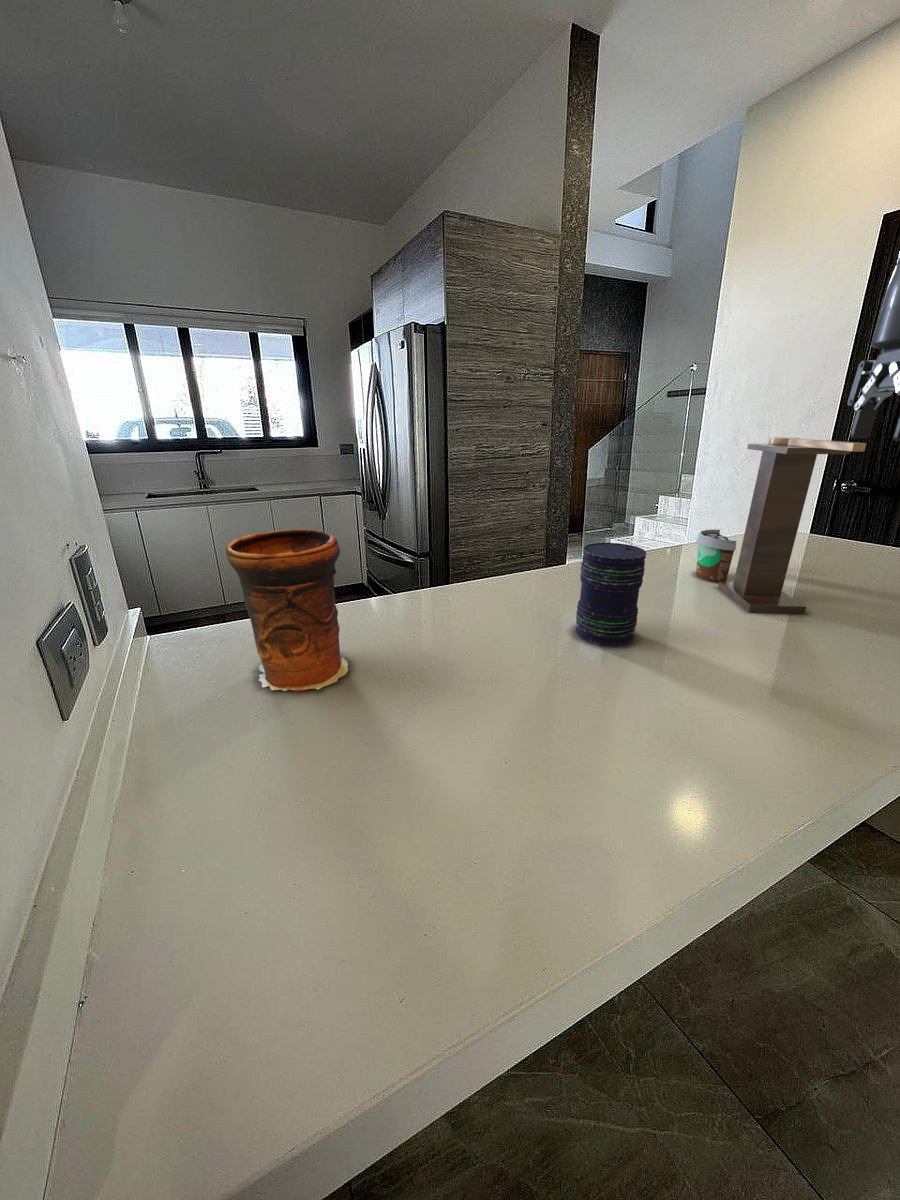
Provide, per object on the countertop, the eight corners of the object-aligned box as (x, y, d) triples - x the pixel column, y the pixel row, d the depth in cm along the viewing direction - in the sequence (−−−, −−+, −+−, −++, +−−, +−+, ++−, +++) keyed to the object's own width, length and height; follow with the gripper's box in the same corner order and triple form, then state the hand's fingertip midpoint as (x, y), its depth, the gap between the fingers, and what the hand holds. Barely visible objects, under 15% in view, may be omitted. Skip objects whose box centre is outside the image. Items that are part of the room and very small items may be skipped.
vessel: (237, 702, 63) (209, 556, 56) (260, 653, 76) (239, 529, 69) (348, 693, 65) (335, 550, 58) (352, 646, 78) (341, 525, 71)
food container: (684, 568, 118) (691, 528, 115) (711, 569, 117) (719, 529, 113) (697, 583, 107) (706, 540, 103) (727, 585, 106) (737, 541, 102)
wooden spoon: (875, 451, 72) (877, 443, 71) (841, 451, 72) (843, 443, 72) (789, 443, 92) (791, 437, 92) (763, 443, 93) (764, 437, 92)
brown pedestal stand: (804, 614, 90) (851, 448, 80) (748, 612, 91) (787, 447, 81) (766, 589, 103) (802, 443, 93) (717, 587, 104) (748, 443, 94)
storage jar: (600, 651, 76) (611, 561, 71) (562, 628, 85) (570, 546, 79) (647, 640, 80) (661, 554, 75) (607, 619, 88) (616, 540, 83)
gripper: (1009, 288, 53) (954, 442, 59) (910, 313, 66) (873, 437, 72) (934, 290, 54) (887, 442, 60) (851, 315, 67) (819, 437, 73)
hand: (880, 439), depth 66 cm, fingers open, 8 cm apart
